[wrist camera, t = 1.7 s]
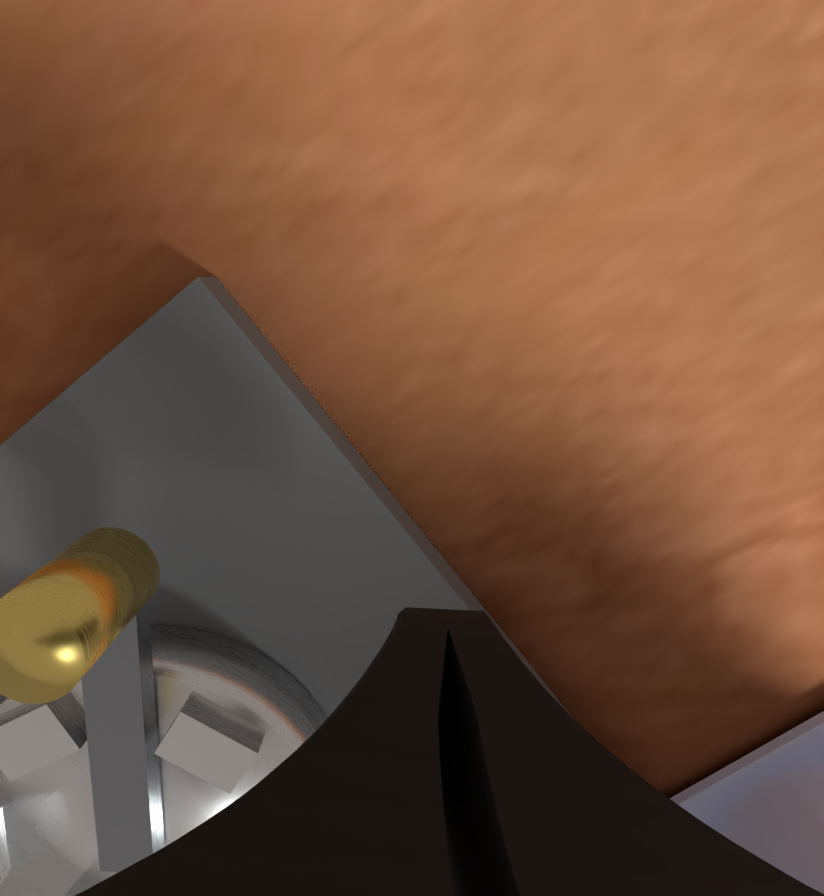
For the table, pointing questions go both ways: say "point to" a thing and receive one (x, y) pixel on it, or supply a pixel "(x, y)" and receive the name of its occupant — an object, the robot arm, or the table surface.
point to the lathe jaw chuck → (123, 720)
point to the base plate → (225, 497)
